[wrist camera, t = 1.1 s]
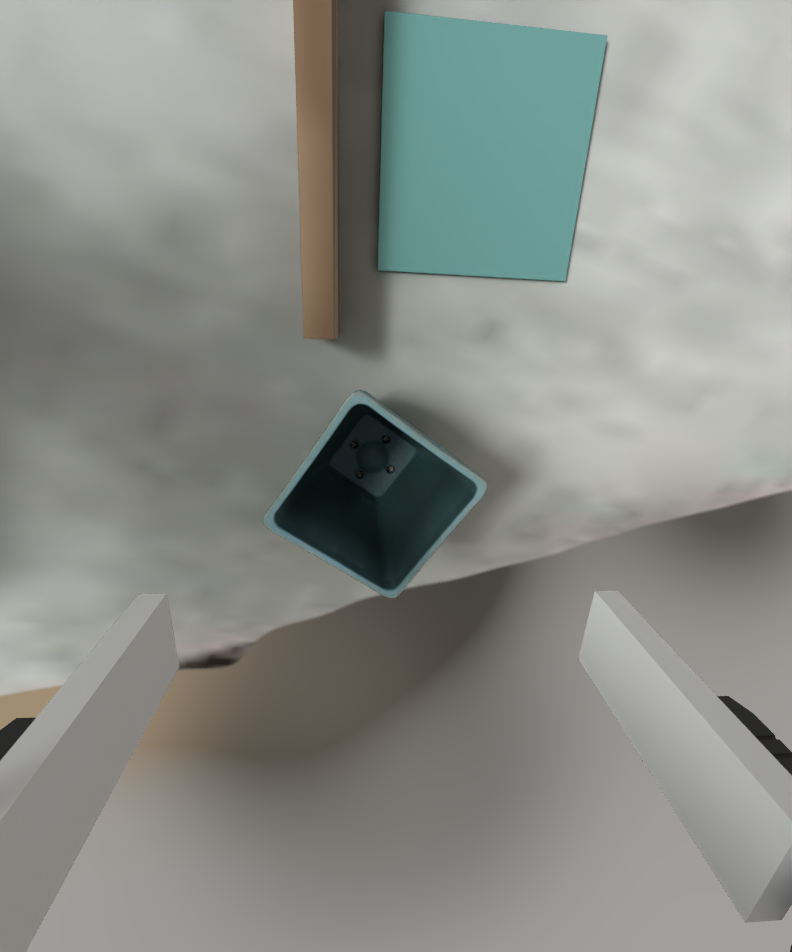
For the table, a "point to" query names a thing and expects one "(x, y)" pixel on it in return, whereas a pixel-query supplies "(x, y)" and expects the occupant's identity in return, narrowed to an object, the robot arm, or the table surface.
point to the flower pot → (374, 497)
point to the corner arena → (318, 163)
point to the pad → (483, 145)
